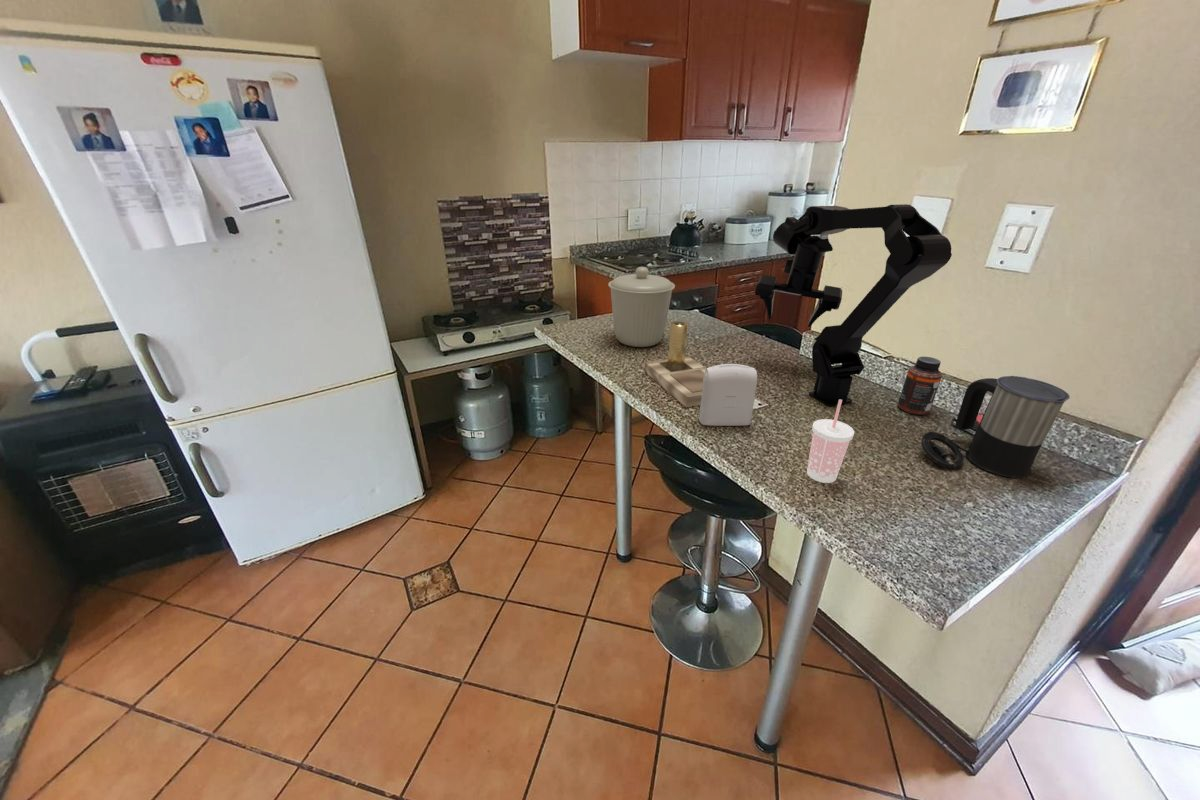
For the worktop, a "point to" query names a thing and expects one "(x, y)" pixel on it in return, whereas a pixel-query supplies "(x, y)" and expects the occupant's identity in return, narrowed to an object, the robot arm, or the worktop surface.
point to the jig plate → (679, 380)
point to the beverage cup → (828, 448)
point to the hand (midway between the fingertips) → (788, 322)
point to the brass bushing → (677, 346)
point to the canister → (640, 307)
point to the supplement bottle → (920, 386)
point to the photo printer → (728, 395)
